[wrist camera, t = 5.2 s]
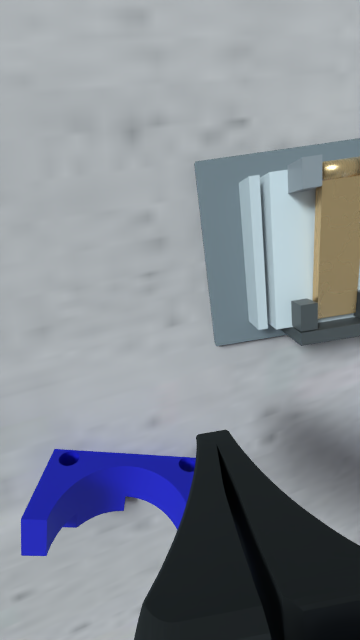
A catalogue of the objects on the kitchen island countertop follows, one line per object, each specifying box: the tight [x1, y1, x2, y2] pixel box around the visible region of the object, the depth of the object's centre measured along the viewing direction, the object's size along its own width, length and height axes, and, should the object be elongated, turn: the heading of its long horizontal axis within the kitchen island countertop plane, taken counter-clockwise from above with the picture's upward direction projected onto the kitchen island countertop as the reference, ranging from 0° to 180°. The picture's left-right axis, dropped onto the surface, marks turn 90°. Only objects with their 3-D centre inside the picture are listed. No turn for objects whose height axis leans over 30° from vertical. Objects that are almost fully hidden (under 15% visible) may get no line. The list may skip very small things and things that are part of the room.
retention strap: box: [312, 156, 360, 319], centre depth 16 cm, size 2×8×1 cm, turn 8°
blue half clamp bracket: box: [21, 449, 196, 556], centre depth 21 cm, size 12×4×6 cm, turn 82°
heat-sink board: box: [194, 138, 360, 346], centre depth 17 cm, size 14×12×5 cm
